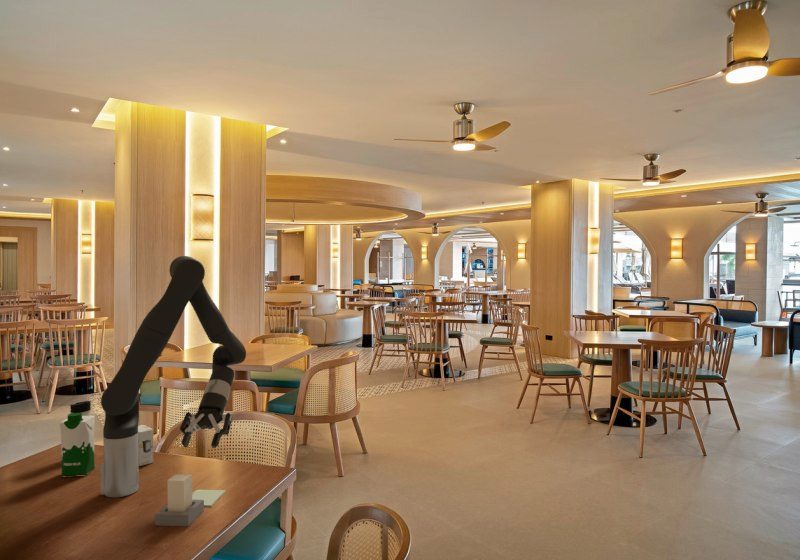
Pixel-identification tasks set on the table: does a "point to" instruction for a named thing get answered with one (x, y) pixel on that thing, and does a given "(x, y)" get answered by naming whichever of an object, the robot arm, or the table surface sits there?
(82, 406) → the travel mug
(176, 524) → the grey square frame
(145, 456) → the ink box
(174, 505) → the cream carton
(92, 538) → the table surface
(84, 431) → the milk carton
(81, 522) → the table surface
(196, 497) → the mat
